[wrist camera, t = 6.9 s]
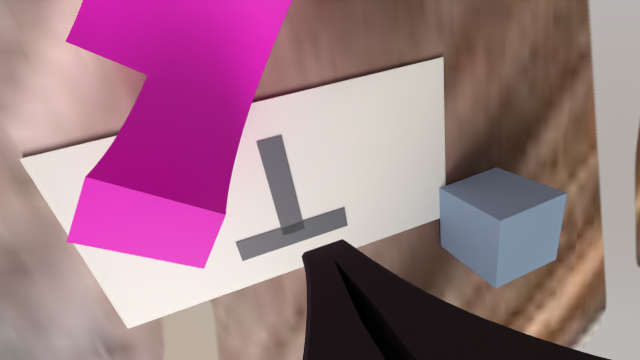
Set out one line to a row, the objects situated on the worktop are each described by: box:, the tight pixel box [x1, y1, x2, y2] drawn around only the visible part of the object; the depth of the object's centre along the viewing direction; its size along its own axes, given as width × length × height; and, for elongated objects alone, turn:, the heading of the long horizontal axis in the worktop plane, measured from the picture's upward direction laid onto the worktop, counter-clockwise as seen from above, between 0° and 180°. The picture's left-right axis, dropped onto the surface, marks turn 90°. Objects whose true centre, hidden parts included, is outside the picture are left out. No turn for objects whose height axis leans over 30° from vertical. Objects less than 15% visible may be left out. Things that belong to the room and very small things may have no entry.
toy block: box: [66, 0, 292, 269], centre depth 11 cm, size 15×6×8 cm, turn 154°
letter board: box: [19, 57, 446, 328], centre depth 18 cm, size 11×22×1 cm, turn 101°
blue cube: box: [439, 167, 567, 288], centre depth 21 cm, size 5×5×5 cm
